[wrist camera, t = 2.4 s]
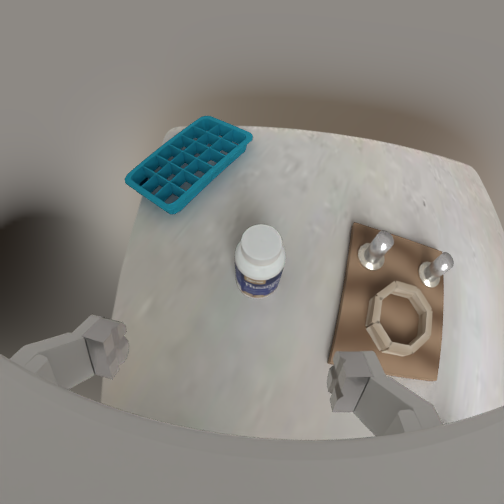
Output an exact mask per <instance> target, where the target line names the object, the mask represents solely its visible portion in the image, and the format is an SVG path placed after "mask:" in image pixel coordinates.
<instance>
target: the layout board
mask: <svg viewBox="0 0 504 504" xmlns="http://www.w3.org/2000/svg"><path fill="white" fill-rule="evenodd" d="M380 231H381V230H378V229H374V228H371V227H368V226H365V225H362V224H358V223H355V222H354V224H353V225H352V229H351V237H350V245H349V252H348V260H347V266H346V273H345V279H344V285H343V291H342V297H341V302H340V308H339V313H338V318H337V323H336V328H335V332H334V337H333V342H332V346H331V350H330V355H329V359H328V364H333V365H334V362H333V357H334V354H335V352H336V351H374V352H375V354H376V356H377V358H378V360H379V362H380V364H381V366H382V368H383V371H384V373H385V375H391V376H397V377H404V378H411V379H418V380H426V381H436V380H437V375H438V368H439V360H440V351H441V340H442V326H443V297H444V285H443V275H442V276H440V282H439V284H438V285H437V286H436V287H434V288H428V287H426V286H424V285H423V284H422V282H421V281H420V279H419V275H418V269H419V267H420V265H421V264H422V263H424V262H430V263H432V262H433V261H434V260H435V259H436V258H437V257H439V256H440V255H441V254H442V252H441V251H439V250H436V249H433V248H430V247H428V246H425V245H422V244H419V243H416V242H413V241H411V240H408V239H405V238H402V237H399V236H396V235H393V234H391V235H392V237H393V239H394V244H393V246H392V247H391V248H390V249H389V250H388V251H387V253H386V254H385V255H384V264H383V266H382V267H381V268H380V269H378V270H376V271H370V270H367V269H365V268H364V267H363V266H362V265H361V264H360V262H359V260H358V256H357V254H358V250H359V249H360V247H361V246H362V245H363V244H366V243H371V242H372V241H373V239H374V238H375V237H376V235H377V234H378V233H379V232H380Z"/></svg>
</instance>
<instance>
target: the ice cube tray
mask: <svg viewBox="0 0 504 504" xmlns="http://www.w3.org/2000/svg"><path fill="white" fill-rule="evenodd" d="M207 131H208V132H207ZM219 135H220V136H222V138H221V137H219ZM194 138H197V140H196V141H195V140H193V139H194ZM252 138H253V136H252V134H251V133H249V132H247V131H245V130H243V129H240V128H238V127H236V126H233V125H231V124H228V123H226V122H224V121H221V120H218V119H216V118H213V117H211V116H203V117H201V118H199V119H198V120H196V121H195V122H193V123H192V124H190V125H189V126H188V127H186V128H185V129H183V130H182V131H181V132H179V133H178V134H177V135H175V136H174V137H173V138H171V139H170V140H169V141H167V142H166V143H165V144H164V145H162V146H161V147H160V148H158V149H157V150H156V151H155V152H153V153H152V154H151V155H150V156H149V157H147V158H146V159H145V160H144V161H142V162H141V163H140V164H139V165H138V166H136V167H135V168H134V169H133V170H132V171H131V172H130V173H128V174H127V176H126V178H125V183H126V184H127V185H129V186H130V187H131V188H133V189H134V190H136V191H137V192H138V193H139V194H141V195H143V196H144V197H146V198H147V199H149V200H150V201H151V202H153V203H154V204H156V205H157V206H159V207H160V208H162V209H163V210H164V211H166V212H168V213H169V214H176V213H178V212H179V211H181V210H182V209H183V208H184V207H185V206H186V205H187V204H188V203H189V202H190V201H191V200H192V199H193V198H194V197H195V196H196V195H197V194H198V193H199V192H201V191H202V190H203V189H204V188H205V187H206V186H207V185H208V184H209V183H210V182H211V181H212V180H213V179H214V178H216V177H217V176H218V175H219V174H220V173H221V172H222V171H223V170H224V169H225V168H227V167H228V166H229V165H230V164H231V163H232V162H233V161H234V160H236V159H237V158H238V157H239V156H240V155H241V154H242V153H244V152H245V150H246V145H247V144H248V143H249V142H250V141H252ZM232 142H235V143H237V144H239V145H236V144H234V143H232ZM208 144H210V145H212V146H210V147H208V146H206V145H208ZM183 147H186V149H185V150H181V148H183ZM222 150H223V151H225V152H227V153H228V154H227V155H224V154H222V153H220V151H222ZM197 153H198V154H200V155H199V156H198V157H197V158H196V157H194V155H195V154H197ZM171 156H173V157H175V158H173V159H172V160H171V161H168V159H169V158H170V157H171ZM210 160H212V161H214V162H216V163H217V164H216V165H214V166H212V165H210V164H208V163H207V162H208V161H210ZM184 163H186V164H188V166H186V167H185V168H184V169H183V168H181V166H182V165H183V164H184ZM159 166H160V167H162V169H160V170H159V171H158V172H157V173H155V172H153V171H155V170H156V169H157V168H158V167H159ZM198 170H199V171H201V172H203V173H205V174H204V175H203V176H202V177H201V178H199V177H197V176H195V175H194V174H195V173H196V172H197V171H198ZM172 174H174V175H176V176H175V177H174V178H173V179H171V180H170V181H168V180H167V178H168V177H169V176H171V175H172ZM148 178H149V180H148ZM185 182H188V183H189V184H191V185H192V186H191V187H190V188H189V189H188V190H187V191H185V190H183V189H182V188H180V186H181V185H182V184H184V183H185ZM159 185H160V186H162V187H163V188H161V189H160V190H159V191H158V192H157V193H156V194H155V195H153V194H151V193H152V192H153V191H154V190H155V189H156V188H157V187H158V186H159ZM172 194H174V195H176V196H177V197H179V198H178V199H177V200H176V201H174V202H173V203H171V204H166V203H165V202H164V201H165V200H166V199H167V198H168V197H169V196H170V195H172Z"/></svg>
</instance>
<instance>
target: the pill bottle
mask: <svg viewBox="0 0 504 504" xmlns="http://www.w3.org/2000/svg"><path fill="white" fill-rule="evenodd" d="M285 260H286V253H285V249H284V246H283V245H282V238H281V235H280V234H279V232H278V231H277V230H276V229H275V228H273V227H271V226H269V225H265V224H257V225H253V226H251V227H249V228H248V229H247V230H246V231H245V232H244V233H243V235H242V238H241V241H240V242H239V243H238V245H237V247H236V250H235V269H236V281H237V285H238V287H239V289H240V291H241V292H242V293H243V294H244V295H246V296H248V297H250V298H254V299H261V298H265V297H268V296H269V295H271V294H272V293H273V292H274V291H275V290H276V288H277V286H278V283H279V281H280V277H281V274H282V271H283V268H284V265H285Z"/></svg>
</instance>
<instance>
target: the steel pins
mask: <svg viewBox="0 0 504 504" xmlns="http://www.w3.org/2000/svg"><path fill="white" fill-rule="evenodd" d="M393 244H394V239H393V237H392V235H391V234H390V233H389V232H387V231H380V232H379V233H378V234H377V235H376V237H375V238H374V239H373V241H372V242H371V243H366V244H363V245H362V246H361V247H360V249H359V250H358V254H357V256H358V260H359V262H360V264H361V265H362V266H363V267H364V268H365V269H367V270H370V271H376V270H378V269H380V268H381V267H382V266H383V264H384V255H385V254H386V253H387V251H388V250H389V249H390V248H391V247H392V246H393ZM453 264H454V262H453V258H452V257H451V255H450V254H449V253H447V252H443V253H442V254H441V255H440V256H439V257H437V258H436V259H435V260H434V261H433V262H432V263H430V262H424V263H422V264H421V265H420V267H419V269H418V275H419V279H420V281H421V282H422V284H423V285H424V286H426V287H428V288H434V287H436V286H437V285H438V284H439V282H440V276H442V275H443V274H444V273H445V272H447V271H448V270H449V269H451V268H452V267H453Z"/></svg>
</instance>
